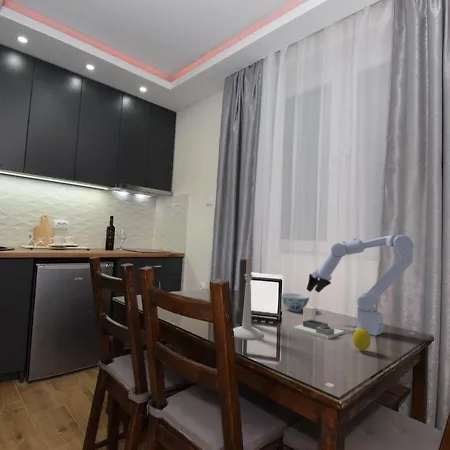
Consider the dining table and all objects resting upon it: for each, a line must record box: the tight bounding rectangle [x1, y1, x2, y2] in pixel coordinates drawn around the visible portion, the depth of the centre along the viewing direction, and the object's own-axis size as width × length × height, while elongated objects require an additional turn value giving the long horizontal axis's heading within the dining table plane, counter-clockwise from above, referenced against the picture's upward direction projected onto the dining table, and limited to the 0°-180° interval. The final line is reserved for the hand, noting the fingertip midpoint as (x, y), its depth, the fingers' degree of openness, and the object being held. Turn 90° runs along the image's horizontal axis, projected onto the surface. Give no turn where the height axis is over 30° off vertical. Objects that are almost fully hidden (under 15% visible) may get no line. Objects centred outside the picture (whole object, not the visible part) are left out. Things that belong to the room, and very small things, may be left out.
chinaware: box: [281, 292, 310, 312], centre depth 168 cm, size 15×15×8 cm
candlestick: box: [232, 257, 264, 341], centre depth 120 cm, size 13×13×30 cm
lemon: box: [352, 327, 372, 352], centre depth 106 cm, size 6×6×8 cm
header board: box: [292, 320, 345, 340], centre depth 128 cm, size 16×13×3 cm
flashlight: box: [234, 258, 247, 326], centre depth 136 cm, size 7×28×7 cm
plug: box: [302, 305, 317, 322], centre depth 142 cm, size 5×3×7 cm, turn 42°
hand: (312, 290), depth 144 cm, fingers open, 7 cm apart
